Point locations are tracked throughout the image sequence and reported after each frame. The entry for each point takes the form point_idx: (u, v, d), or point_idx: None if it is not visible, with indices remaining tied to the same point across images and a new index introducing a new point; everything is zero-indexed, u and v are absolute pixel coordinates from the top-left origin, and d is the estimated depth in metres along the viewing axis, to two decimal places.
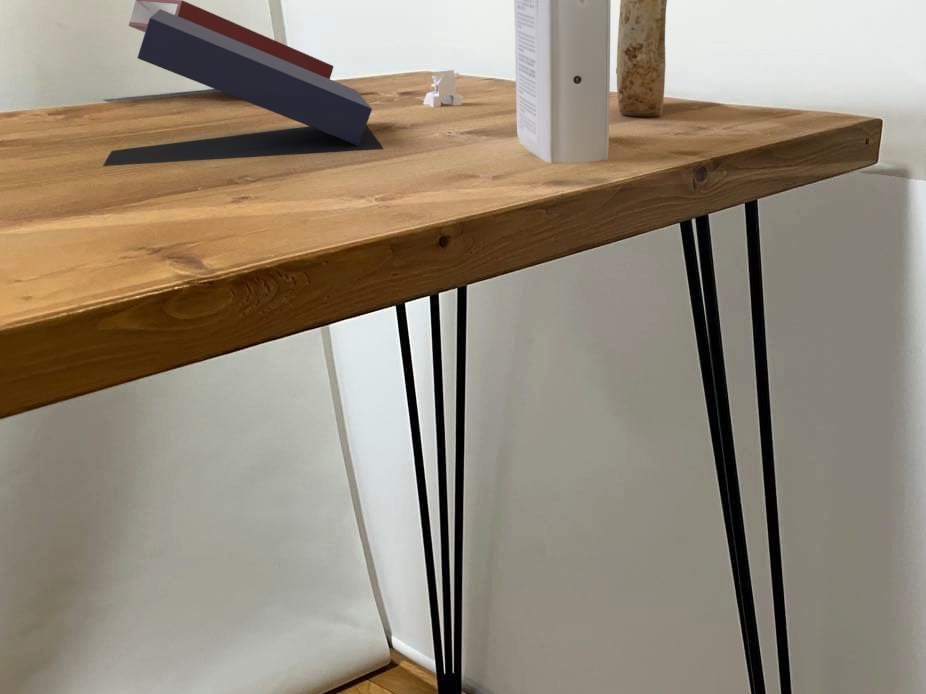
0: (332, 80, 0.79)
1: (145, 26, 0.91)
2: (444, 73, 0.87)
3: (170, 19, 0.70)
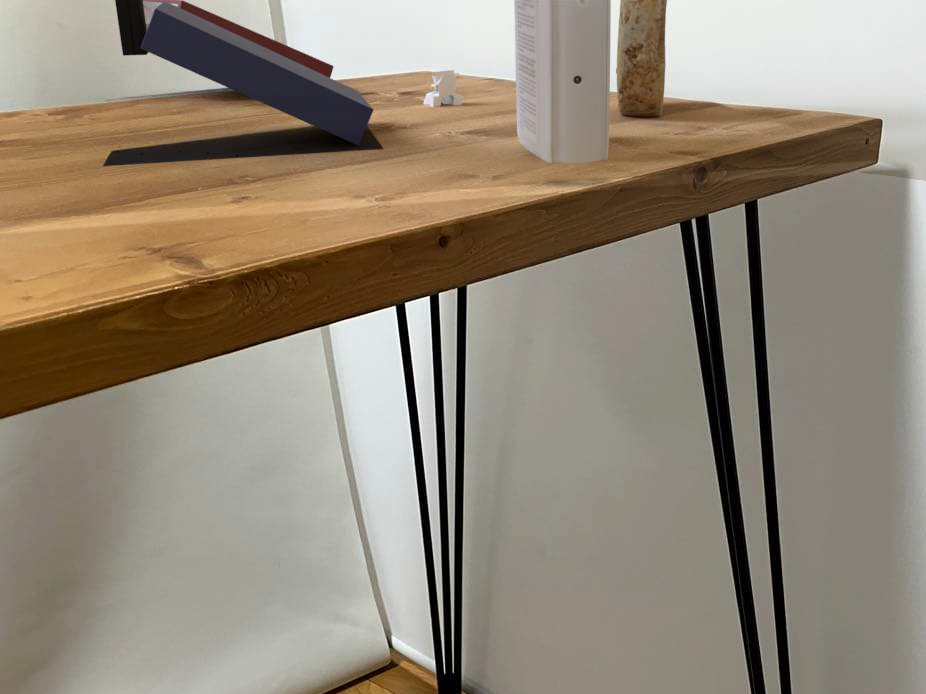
0: (334, 80, 0.79)
1: None
2: (444, 73, 0.87)
3: (175, 11, 0.70)
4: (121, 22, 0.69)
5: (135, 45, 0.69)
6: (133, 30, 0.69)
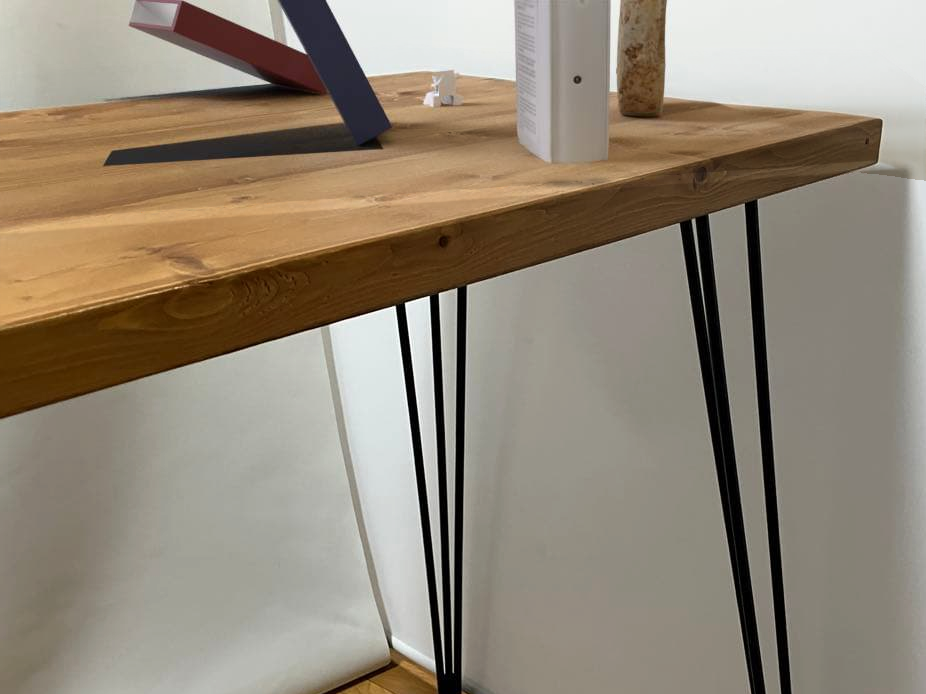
0: None
1: (145, 26, 0.91)
2: (444, 73, 0.87)
3: None
4: None
5: None
6: None
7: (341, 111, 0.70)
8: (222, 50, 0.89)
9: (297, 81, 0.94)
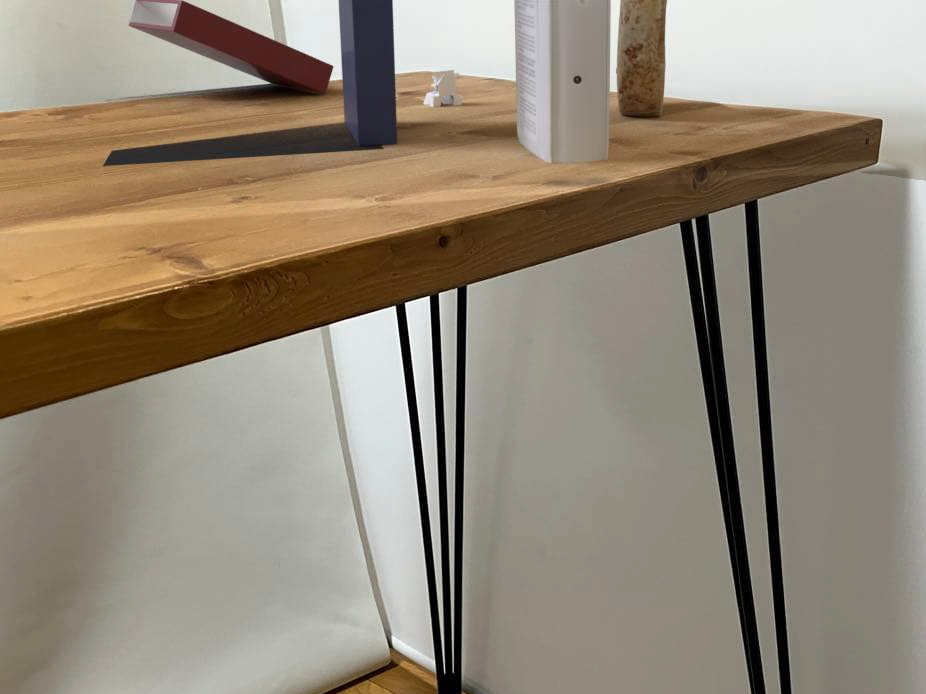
0: None
1: (145, 26, 0.91)
2: (444, 73, 0.87)
3: None
4: None
5: None
6: None
7: (358, 107, 0.70)
8: (222, 50, 0.89)
9: (297, 81, 0.94)
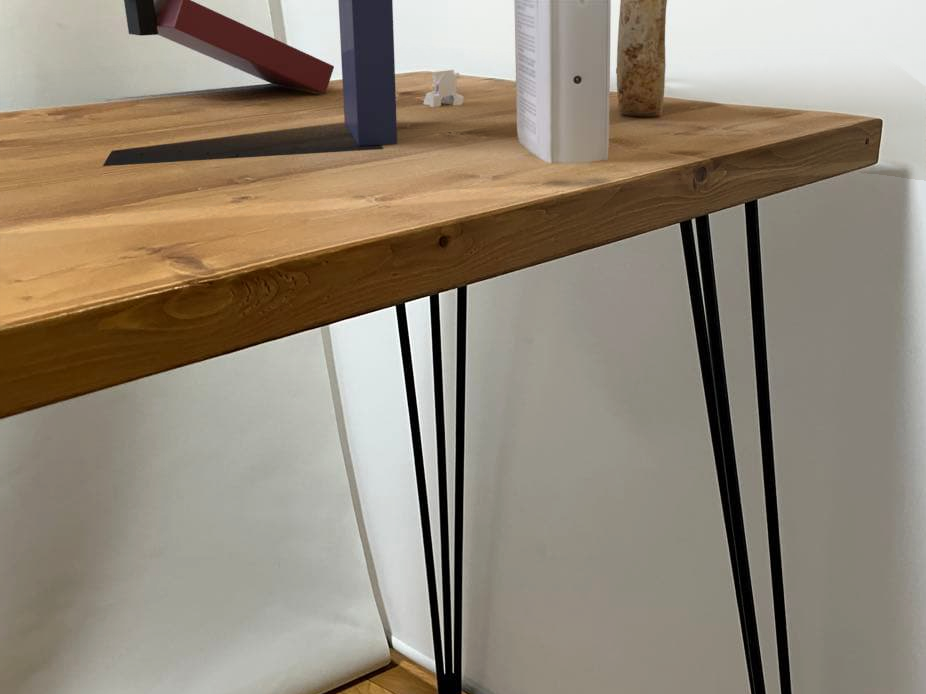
0: None
1: None
2: (444, 73, 0.87)
3: None
4: (139, 9, 0.88)
5: (150, 27, 0.89)
6: (148, 15, 0.88)
7: (358, 107, 0.70)
8: (223, 48, 0.89)
9: (297, 80, 0.94)
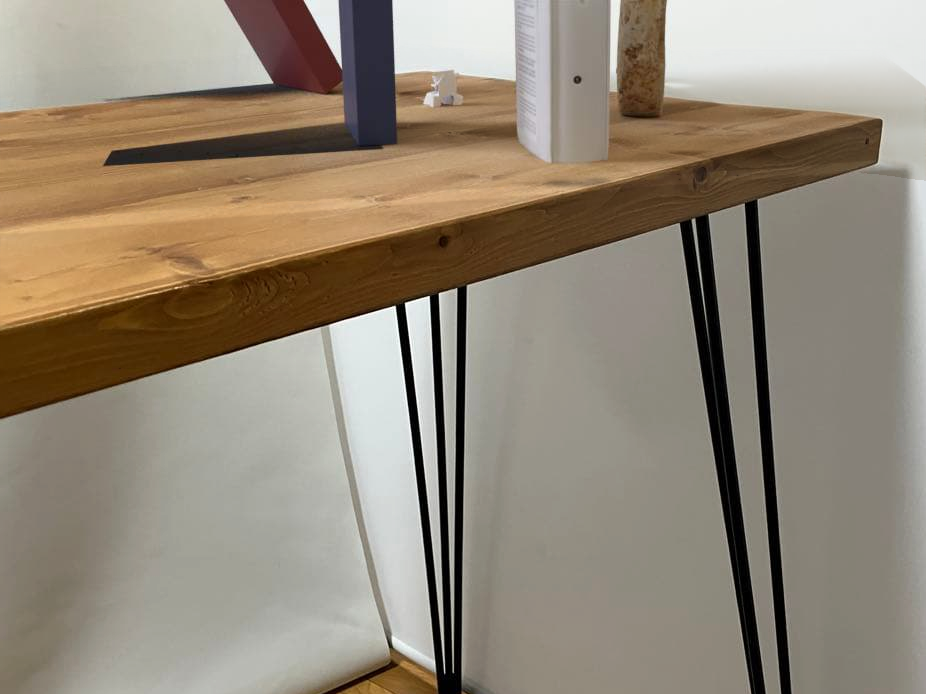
0: None
1: None
2: (444, 73, 0.87)
3: None
4: None
5: None
6: None
7: (358, 107, 0.70)
8: None
9: (309, 64, 0.94)
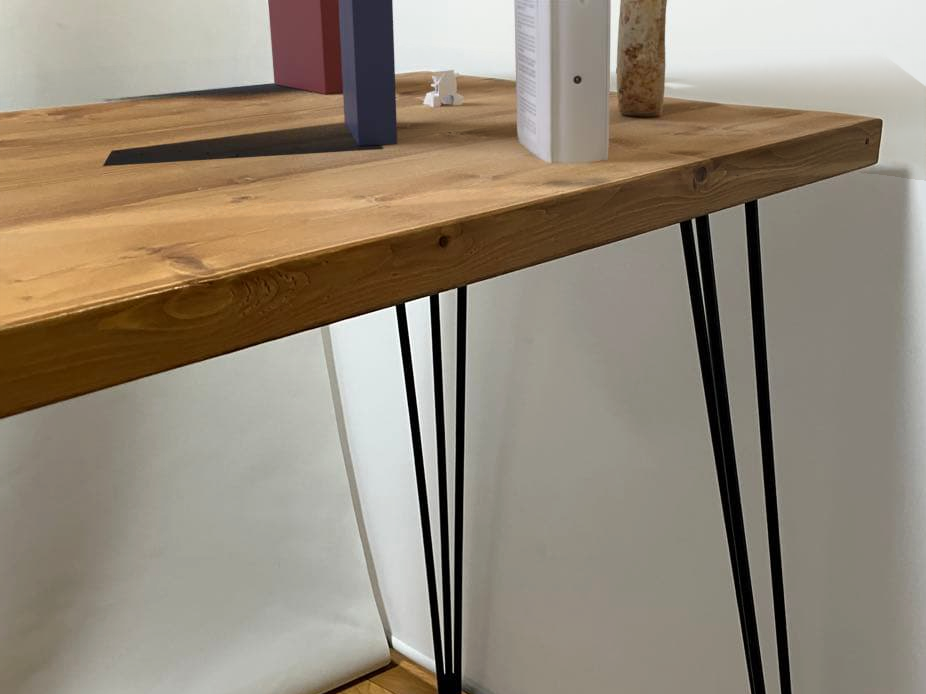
0: None
1: None
2: (444, 73, 0.87)
3: None
4: None
5: None
6: None
7: (358, 107, 0.70)
8: None
9: (324, 60, 0.95)
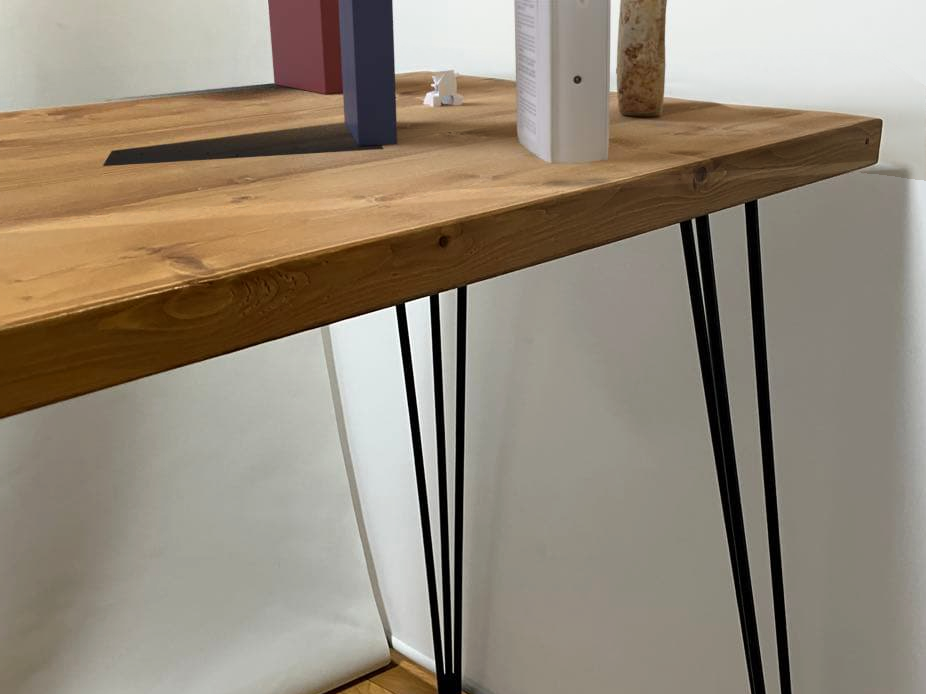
0: None
1: None
2: (444, 73, 0.87)
3: None
4: None
5: None
6: None
7: (358, 107, 0.70)
8: None
9: (324, 60, 0.95)
